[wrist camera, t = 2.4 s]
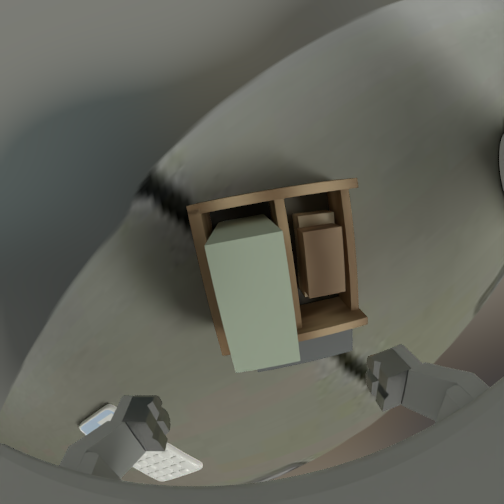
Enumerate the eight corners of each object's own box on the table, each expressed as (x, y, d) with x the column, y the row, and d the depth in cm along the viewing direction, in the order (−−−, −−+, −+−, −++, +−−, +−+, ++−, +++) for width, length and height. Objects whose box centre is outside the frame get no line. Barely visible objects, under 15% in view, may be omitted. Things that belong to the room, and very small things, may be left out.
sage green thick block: (263, 213, 27) (282, 231, 15) (277, 296, 29) (300, 360, 17) (218, 222, 27) (204, 245, 15) (235, 304, 29) (235, 372, 17)
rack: (333, 180, 27) (356, 178, 21) (345, 301, 30) (367, 324, 24) (197, 203, 26) (186, 206, 21) (225, 325, 29) (222, 355, 24)
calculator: (162, 477, 38) (160, 483, 36) (79, 422, 34) (75, 429, 32) (205, 461, 36) (205, 469, 34) (111, 399, 32) (107, 407, 30)
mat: (349, 299, 30) (351, 300, 29) (350, 348, 31) (352, 350, 31) (247, 321, 30) (247, 323, 29) (257, 369, 31) (257, 372, 31)
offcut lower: (323, 209, 28) (333, 212, 25) (329, 282, 29) (338, 291, 26) (291, 213, 28) (297, 216, 25) (298, 287, 29) (305, 297, 26)
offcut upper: (331, 222, 25) (341, 226, 22) (336, 282, 26) (345, 291, 24) (296, 228, 25) (302, 232, 22) (303, 289, 26) (309, 298, 24)
